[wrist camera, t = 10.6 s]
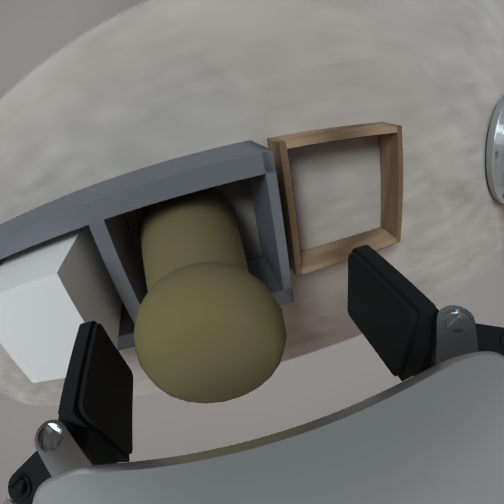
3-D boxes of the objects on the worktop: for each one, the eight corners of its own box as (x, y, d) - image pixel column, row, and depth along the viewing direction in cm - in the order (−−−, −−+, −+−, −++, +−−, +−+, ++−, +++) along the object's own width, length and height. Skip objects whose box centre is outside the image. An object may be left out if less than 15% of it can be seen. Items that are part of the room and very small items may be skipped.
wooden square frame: (382, 122, 18) (401, 126, 16) (384, 230, 22) (400, 241, 20) (266, 138, 17) (278, 142, 15) (285, 261, 21) (296, 276, 19)
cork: (188, 290, 20) (216, 438, 10) (119, 232, 17) (81, 378, 7) (257, 230, 19) (342, 356, 10) (191, 160, 16) (226, 246, 7)
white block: (92, 211, 16) (56, 272, 10) (125, 288, 19) (115, 368, 13) (22, 238, 15) (-27, 302, 9) (58, 307, 18) (32, 382, 12)
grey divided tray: (250, 140, 16) (274, 151, 13) (272, 266, 21) (294, 302, 17) (-3, 226, 14) (-33, 256, 10) (52, 328, 18) (39, 368, 15)
